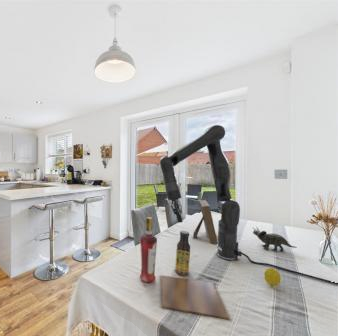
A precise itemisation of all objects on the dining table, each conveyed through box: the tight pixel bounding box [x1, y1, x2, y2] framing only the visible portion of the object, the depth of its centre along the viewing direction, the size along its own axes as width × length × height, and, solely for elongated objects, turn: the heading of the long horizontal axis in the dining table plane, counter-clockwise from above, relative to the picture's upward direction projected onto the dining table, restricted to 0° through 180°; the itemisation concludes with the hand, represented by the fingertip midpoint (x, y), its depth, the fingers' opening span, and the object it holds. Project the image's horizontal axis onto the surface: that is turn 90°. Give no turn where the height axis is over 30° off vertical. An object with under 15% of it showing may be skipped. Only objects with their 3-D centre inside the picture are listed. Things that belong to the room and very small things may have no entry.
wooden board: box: [160, 275, 230, 320], centre depth 78 cm, size 22×20×1 cm
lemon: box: [263, 267, 282, 287], centre depth 85 cm, size 6×6×8 cm
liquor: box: [139, 216, 158, 284], centre depth 87 cm, size 7×7×28 cm
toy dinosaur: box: [252, 226, 298, 252], centre depth 122 cm, size 22×8×11 cm, turn 47°
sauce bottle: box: [174, 230, 191, 276], centre depth 94 cm, size 7×6×20 cm
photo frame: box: [192, 199, 218, 244], centre depth 141 cm, size 15×22×25 cm
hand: (180, 222), depth 105 cm, fingers closed
